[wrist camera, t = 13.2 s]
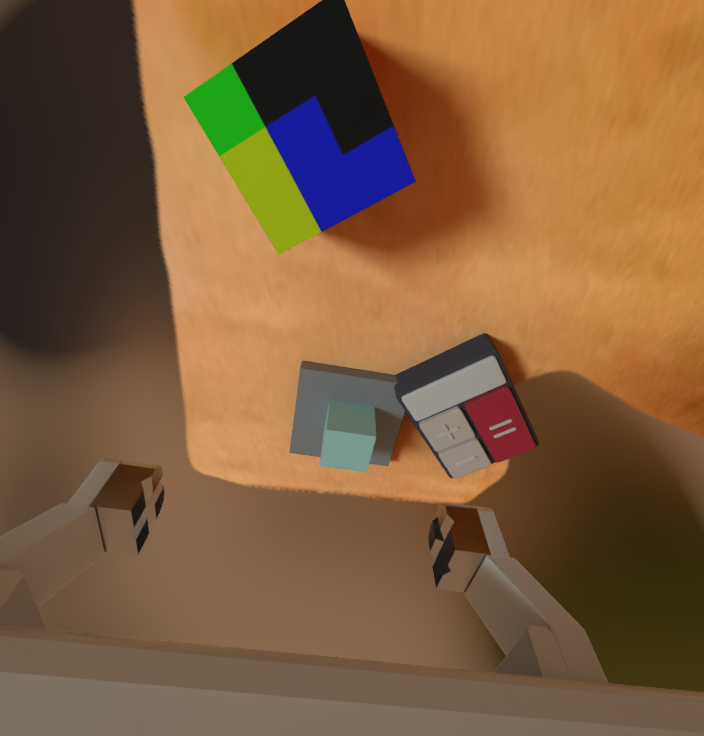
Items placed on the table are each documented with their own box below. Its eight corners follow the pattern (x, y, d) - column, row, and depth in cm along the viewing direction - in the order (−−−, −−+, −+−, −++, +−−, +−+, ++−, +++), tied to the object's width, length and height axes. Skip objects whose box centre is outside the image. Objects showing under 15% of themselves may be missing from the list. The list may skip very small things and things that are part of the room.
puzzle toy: (400, 166, 34) (415, 181, 25) (297, 223, 36) (278, 254, 27) (345, 27, 29) (339, -12, 20) (230, 103, 31) (183, 97, 23)
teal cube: (374, 406, 44) (376, 436, 40) (365, 440, 47) (366, 472, 43) (329, 399, 44) (326, 429, 40) (323, 434, 47) (319, 465, 42)
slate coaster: (411, 377, 44) (413, 385, 43) (387, 457, 50) (388, 466, 49) (302, 360, 43) (300, 368, 42) (291, 444, 49) (289, 452, 48)
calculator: (452, 484, 48) (395, 400, 41) (444, 457, 52) (390, 375, 44) (543, 450, 45) (499, 352, 38) (529, 424, 49) (486, 330, 41)
